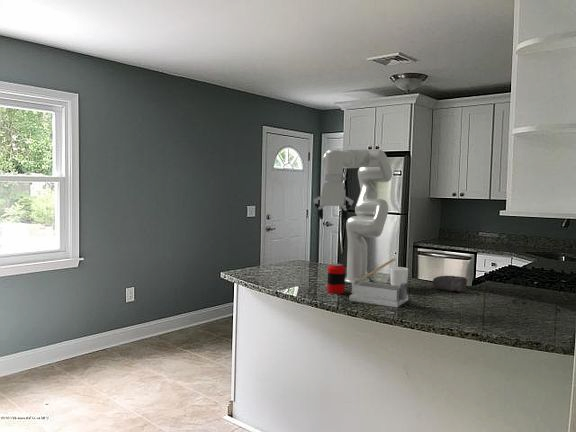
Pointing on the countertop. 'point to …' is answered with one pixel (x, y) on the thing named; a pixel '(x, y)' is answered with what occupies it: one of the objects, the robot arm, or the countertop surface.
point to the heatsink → (379, 293)
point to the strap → (375, 270)
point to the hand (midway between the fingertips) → (332, 219)
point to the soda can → (336, 279)
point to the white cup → (398, 275)
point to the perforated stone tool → (450, 283)
